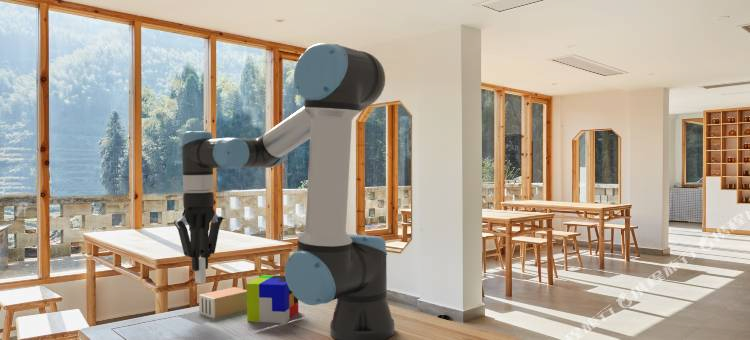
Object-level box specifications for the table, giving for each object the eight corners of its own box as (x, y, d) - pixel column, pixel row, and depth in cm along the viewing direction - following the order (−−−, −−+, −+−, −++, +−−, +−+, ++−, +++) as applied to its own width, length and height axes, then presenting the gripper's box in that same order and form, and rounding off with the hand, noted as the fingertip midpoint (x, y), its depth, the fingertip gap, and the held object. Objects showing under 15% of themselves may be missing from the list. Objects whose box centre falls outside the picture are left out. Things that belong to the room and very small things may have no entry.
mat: (254, 312, 149) (254, 310, 149) (200, 326, 137) (200, 324, 137) (230, 305, 156) (230, 303, 156) (177, 317, 145) (177, 316, 145)
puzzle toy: (284, 325, 138) (284, 285, 137) (247, 323, 140) (246, 283, 139) (298, 313, 147) (297, 276, 147) (263, 312, 149) (262, 275, 149)
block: (213, 318, 142) (249, 309, 150) (213, 299, 142) (249, 290, 150) (199, 313, 147) (234, 304, 155) (198, 294, 147) (234, 287, 155)
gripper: (213, 189, 150) (214, 276, 151) (167, 192, 140) (169, 285, 141) (228, 190, 145) (230, 280, 146) (182, 193, 135) (184, 289, 136)
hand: (200, 282), depth 143 cm, fingers closed
